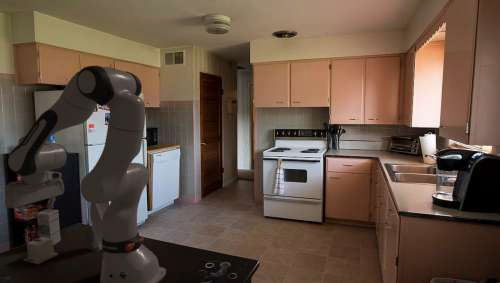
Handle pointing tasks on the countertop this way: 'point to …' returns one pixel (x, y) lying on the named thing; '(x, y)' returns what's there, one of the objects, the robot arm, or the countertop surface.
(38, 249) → the knob
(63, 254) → the countertop surface
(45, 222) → the syrup box
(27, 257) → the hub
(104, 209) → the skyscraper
